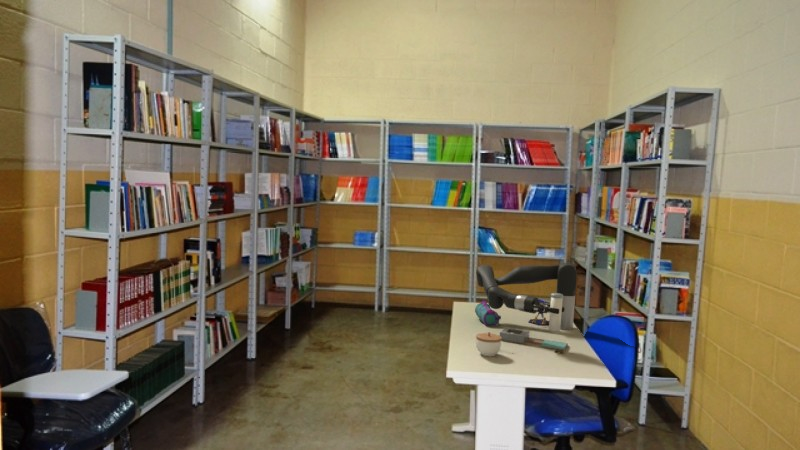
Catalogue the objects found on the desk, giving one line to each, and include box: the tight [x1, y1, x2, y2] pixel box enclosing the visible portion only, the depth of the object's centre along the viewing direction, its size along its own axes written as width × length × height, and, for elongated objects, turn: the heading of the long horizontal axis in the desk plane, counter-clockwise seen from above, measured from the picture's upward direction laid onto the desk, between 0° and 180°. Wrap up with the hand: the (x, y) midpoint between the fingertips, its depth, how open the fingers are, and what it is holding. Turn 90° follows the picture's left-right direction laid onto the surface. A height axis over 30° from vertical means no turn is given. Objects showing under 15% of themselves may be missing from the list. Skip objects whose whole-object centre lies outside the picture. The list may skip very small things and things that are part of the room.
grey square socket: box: [499, 326, 530, 345], centre depth 263 cm, size 11×11×4 cm
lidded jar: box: [475, 332, 502, 357], centre depth 241 cm, size 11×11×9 cm
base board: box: [501, 336, 569, 354], centre depth 260 cm, size 14×30×1 cm, turn 65°
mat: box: [541, 339, 567, 350], centre depth 255 cm, size 10×10×1 cm
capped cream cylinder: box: [548, 292, 563, 332], centre depth 254 cm, size 5×5×16 cm
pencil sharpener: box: [527, 299, 549, 327], centre depth 301 cm, size 14×18×13 cm
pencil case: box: [474, 300, 502, 327], centre depth 295 cm, size 21×9×10 cm, turn 5°
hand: (561, 310), depth 252 cm, fingers closed on capped cream cylinder, 5 cm apart
